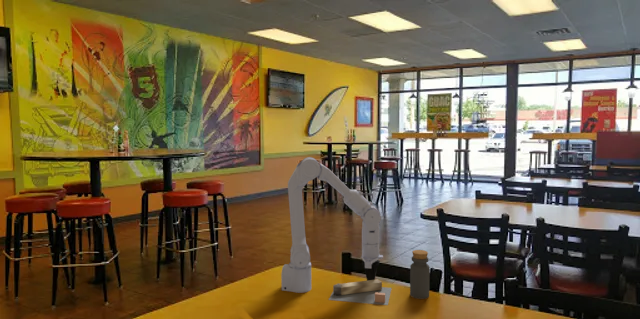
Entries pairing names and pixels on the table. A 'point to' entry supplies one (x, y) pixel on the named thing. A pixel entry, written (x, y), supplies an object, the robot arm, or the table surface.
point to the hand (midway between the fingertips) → (370, 282)
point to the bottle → (419, 275)
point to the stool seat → (363, 297)
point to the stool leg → (357, 287)
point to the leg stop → (380, 297)
